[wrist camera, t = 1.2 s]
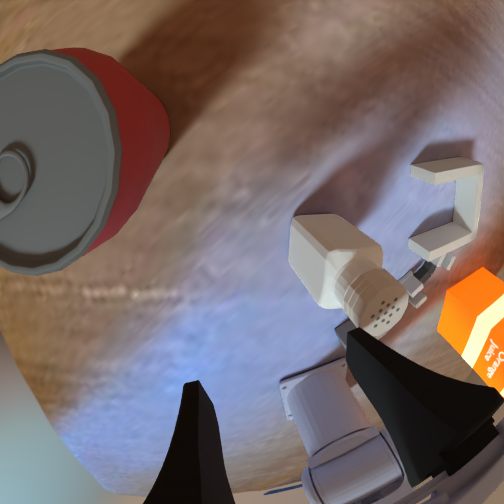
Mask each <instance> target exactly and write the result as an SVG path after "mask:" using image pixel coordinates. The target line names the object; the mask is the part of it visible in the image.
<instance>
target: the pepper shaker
mask: <svg viewBox="0 0 504 504" xmlns="http://www.w3.org/2000/svg"><path fill="white" fill-rule="evenodd" d="M288 261H289V264H290V266H291V267H292V268H293V270H294V271H295V273H296V274H297V275H298V277H299V278H300V280H301V281H302V282H303V284H304V285H305V287H306V288H307V290H308V291H309V292H310V294H311V295H312V297H313V298H314V299H315V301H316V302H317V304H318V305H319V306H320V307H323V308H326V309H336V308H343V310H344V312H345V313H346V315H347V316H349V318H350V319H351V321H352V322H353V323H354V325H355V326H356V327H357V328H358V327H360V328H362V329H363V330H365V331H366V332H368V333H369V334H370V335H372V336H378V335H380V334H382V333H384V332H386V331H388V330H390V329H391V328H392V327H393V326H394V325H395V324H396V323H397V322H398V321H399V320H400V319H401V317H402V315H403V314H404V312H405V310H406V308H407V306H408V299H409V294H408V292H407V290H406V289H405V287H404V286H403V285H402V284H401V283H400V282H399V281H398V280H396V279H395V278H394V277H393V276H392V275H390V273H388V272H387V271H386V270H385V269H383V268H382V261H383V252H382V248H381V246H380V244H378V243H377V242H375V241H374V240H373V239H371V238H370V237H369V236H367V235H366V234H365V233H363V232H362V231H360V230H359V229H358V228H356V227H355V226H353V225H352V224H350V223H349V222H348V221H346V220H345V219H343V218H342V217H340V216H339V215H336V214H317V215H299V216H295V217H293V218H292V221H291V228H290V242H289V256H288Z"/></svg>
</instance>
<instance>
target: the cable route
mask: <svg viewBox="0 0 504 504" xmlns="http://www.w3.org/2000/svg"><path fill="white" fill-rule="evenodd" d="M436 267H437V266H436V265H434V264H433V263H431V262H430V261H429V262H428V261H425V263H424V265H423V267H422V268H421V269H420V270H419V271H418V272H417V273H416V274H415V275H414V277H416V278H417V279H418V280H419V281H420V282H422V283H423V284H424V283H425V282H426V281H427V280H428V279H429V278H430V277H431V273H432V274H433V272H434V270H435V268H436ZM409 297H410V295H409ZM355 328H357V327H356V326H355V325H354V323H353V322H352V321H351V319H350V320H348V321H347V322H345V323H344V324H342V325H340V326H339V327H337V328H336V329H334V330H335V332H336V334H337V336H338V338H339V341H340V343H341V344H342V346H343V347H344V349H345V350H346V346H347V332H348V331H351V330H353V329H355Z"/></svg>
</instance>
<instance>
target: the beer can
mask: <svg viewBox="0 0 504 504" xmlns="http://www.w3.org/2000/svg"><path fill="white" fill-rule="evenodd" d="M170 133H171V131H170V124H169V118H168V114H167V112H166V110H165V108H164V106H163V104H162V102H161V101H160V100H159V99H158V98H157V97H156V96H155V95H154V94H153V93H152V92H151V91H149V90H148V89H147V88H146V87H145V86H144V85H143V84H142V83H141V82H140V81H139V80H137V79H136V78H135V77H134V76H133V75H132V74H131V73H130V72H128V71H127V70H126V69H125V68H124V67H123V66H122V65H121V64H119V63H118V62H117V61H116V60H115V59H114V58H112V57H111V56H108V55H105V54H102V53H98V52H95V51H92V50H89V49H85V48H64V49H55V50H47V49H44V50H38V51H32V52H26V53H21V54H17V55H15V56H14V57H12V58H10V59H9V60H7V61H5V62H4V63H2V64H0V266H1V267H3V268H5V269H7V270H9V271H11V272H13V273H20V274H26V275H33V276H39V275H43V274H47V273H51V272H56V271H60V270H63V269H64V268H65V267H67V266H68V265H70V264H71V263H73V262H74V261H75V260H77V259H78V258H80V257H81V256H84V255H86V254H87V253H89V252H90V251H92V250H93V249H95V248H96V247H98V246H99V245H101V244H102V243H104V242H105V241H107V240H108V239H110V238H111V237H113V236H114V235H116V234H117V233H118V232H119V230H120V229H121V228H122V227H123V225H124V224H125V223H126V222H127V221H128V219H129V218H130V217H131V216H132V215H133V213H134V212H135V211H136V210H137V208H138V206H139V204H140V202H141V200H142V198H143V196H144V194H145V192H146V190H147V188H148V186H149V184H150V182H151V181H152V179H153V177H154V175H155V173H156V171H157V169H158V168H159V166H160V164H161V162H162V160H163V158H164V156H165V154H166V152H167V150H168V145H169V139H170Z"/></svg>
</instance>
